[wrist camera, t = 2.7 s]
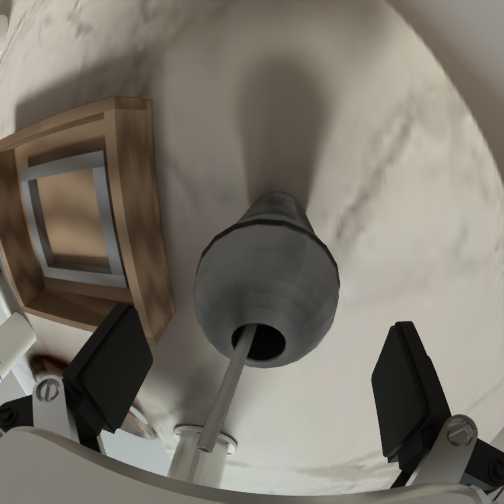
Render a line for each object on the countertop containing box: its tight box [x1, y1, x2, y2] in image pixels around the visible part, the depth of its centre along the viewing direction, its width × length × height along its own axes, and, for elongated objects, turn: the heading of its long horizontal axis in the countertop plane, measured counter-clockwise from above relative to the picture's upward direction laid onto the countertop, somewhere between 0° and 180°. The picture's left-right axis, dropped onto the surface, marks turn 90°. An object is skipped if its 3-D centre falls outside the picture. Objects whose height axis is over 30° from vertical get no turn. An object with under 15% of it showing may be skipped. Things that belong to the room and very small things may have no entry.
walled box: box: [0, 96, 176, 345], centre depth 24 cm, size 22×22×6 cm
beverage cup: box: [194, 192, 340, 453], centre depth 15 cm, size 7×7×20 cm
